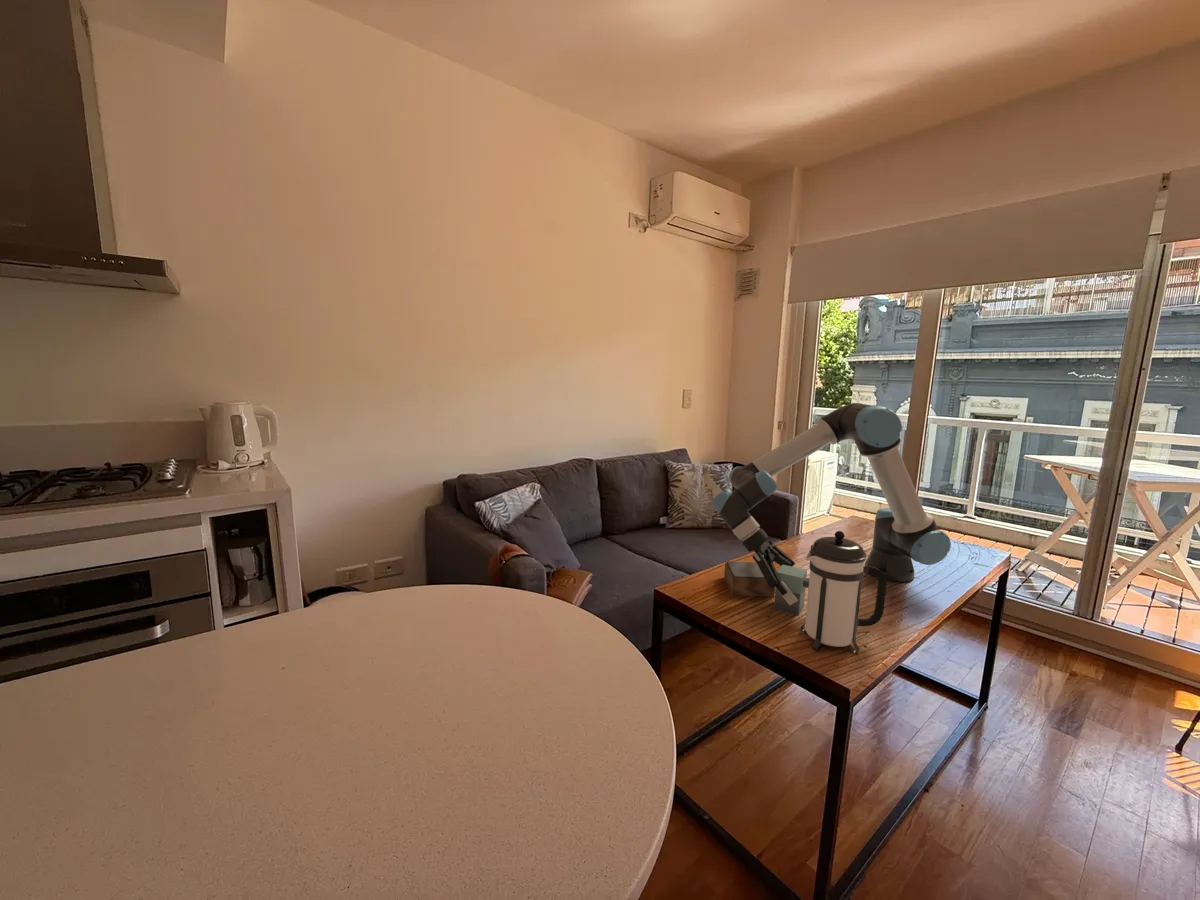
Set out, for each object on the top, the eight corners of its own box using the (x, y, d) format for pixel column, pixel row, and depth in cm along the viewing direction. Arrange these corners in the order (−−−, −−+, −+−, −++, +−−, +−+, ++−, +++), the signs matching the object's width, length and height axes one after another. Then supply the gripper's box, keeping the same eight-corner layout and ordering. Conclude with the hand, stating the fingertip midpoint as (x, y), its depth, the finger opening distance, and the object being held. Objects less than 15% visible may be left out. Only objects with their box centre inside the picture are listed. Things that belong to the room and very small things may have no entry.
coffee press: (845, 666, 120) (858, 547, 115) (786, 637, 132) (796, 528, 127) (880, 644, 130) (894, 533, 125) (822, 618, 143) (832, 517, 137)
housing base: (779, 599, 154) (781, 579, 153) (803, 606, 150) (805, 585, 149) (773, 608, 148) (775, 588, 147) (798, 615, 144) (800, 594, 143)
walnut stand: (763, 579, 168) (764, 562, 167) (774, 596, 156) (775, 578, 155) (724, 577, 169) (725, 560, 168) (731, 594, 156) (733, 576, 155)
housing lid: (781, 580, 153) (782, 564, 152) (811, 587, 148) (812, 571, 147) (775, 588, 147) (776, 572, 146) (806, 596, 142) (808, 579, 141)
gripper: (753, 530, 165) (798, 585, 159) (728, 553, 144) (778, 617, 139) (771, 518, 161) (817, 574, 155) (747, 539, 141) (799, 604, 135)
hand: (799, 594), depth 147 cm, fingers open, 12 cm apart
